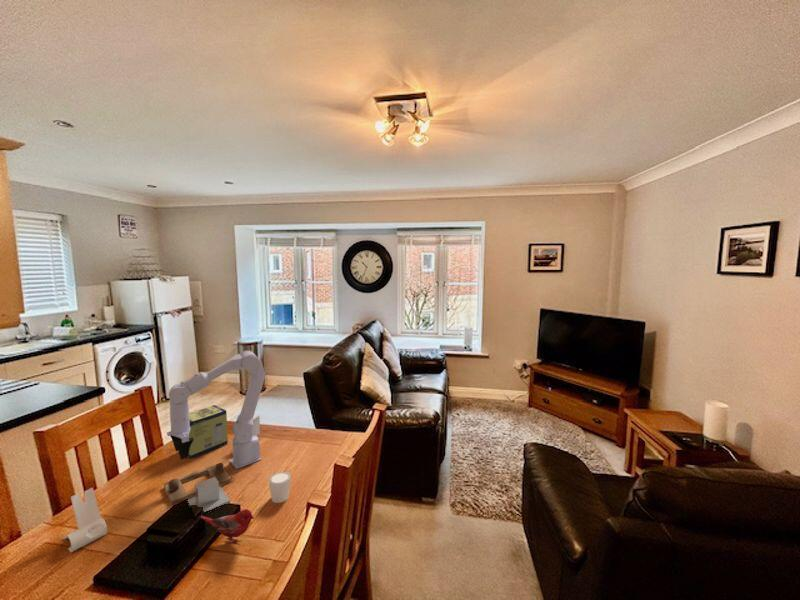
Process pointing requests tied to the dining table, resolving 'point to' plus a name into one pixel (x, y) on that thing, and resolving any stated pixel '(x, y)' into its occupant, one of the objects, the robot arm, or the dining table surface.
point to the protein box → (207, 430)
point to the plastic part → (86, 521)
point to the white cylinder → (279, 487)
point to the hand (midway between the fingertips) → (181, 454)
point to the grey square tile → (222, 500)
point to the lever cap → (206, 492)
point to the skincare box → (256, 426)
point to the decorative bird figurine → (231, 524)
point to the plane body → (175, 486)
